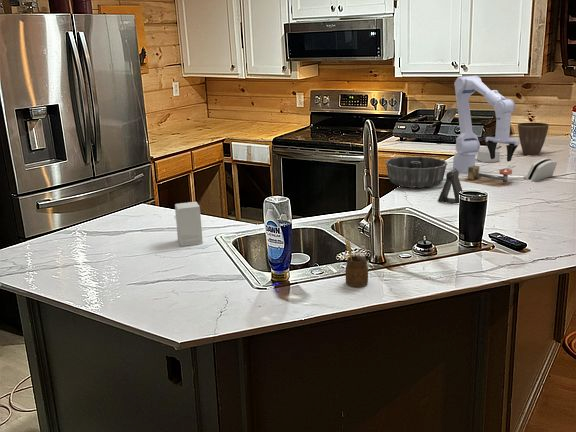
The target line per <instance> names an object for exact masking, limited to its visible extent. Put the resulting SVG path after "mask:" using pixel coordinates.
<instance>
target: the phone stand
mask: <svg viewBox="0 0 576 432" xmlns="http://www.w3.org/2000/svg"><path fill="white" fill-rule="evenodd" d="M459 175H460V172H458V170H455V171H454V170H453V169H452V170H450V171H448V172H447V173H446V175H445V182H444V185H443V186H442V189H441V191H440V194H439V197H438V199H437V202H438V201H439V202H438V203H445V202H447V204H453V203H459V192H460V191H463V187H462V184H461V181H459V180H460V178H459ZM451 187H452V191H453V196H454V198H453V197H449V193H450V190H451Z"/></svg>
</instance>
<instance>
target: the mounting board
mask: <svg viewBox="0 0 576 432" xmlns="http://www.w3.org/2000/svg"><path fill="white" fill-rule="evenodd" d="M465 179H468V176H467V177H463V178H461V179H460V178H459V181H460V182H466V183H470V184H478V185H482V186H489V187H496V188H502V187H504V186H507V185H508V186H509V185H511V184H513V183H515V181H511V180H510V181H509V180H507V182H503V180H499V179H493V178H486V177H481V179H479V180H476V181H469V180H465Z"/></svg>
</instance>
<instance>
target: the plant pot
mask: <svg viewBox="0 0 576 432" xmlns="http://www.w3.org/2000/svg"><path fill="white" fill-rule="evenodd" d="M549 126H550V124H549V123H545V122H521V123H518V124H517V130H518V132H517V133H518V138H519V139H518V140H519V144H520V147H521V151H522V153H523V155H524V154H525V155H524V156H526V155H537V156H540V153H541V152H542V148H543V146H544V144H545V141H546V137H547V134H548V130H549Z"/></svg>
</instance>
